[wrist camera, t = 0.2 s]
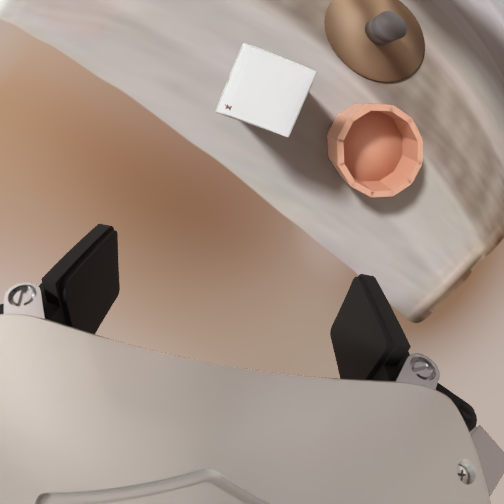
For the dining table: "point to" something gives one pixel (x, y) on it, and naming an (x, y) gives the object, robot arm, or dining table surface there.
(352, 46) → the lid
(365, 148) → the bowl
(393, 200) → the dining table surface
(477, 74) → the dining table surface
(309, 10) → the dining table surface
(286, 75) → the supplement box
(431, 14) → the dining table surface
